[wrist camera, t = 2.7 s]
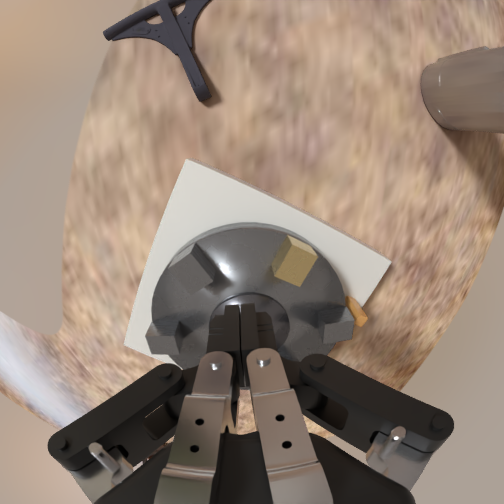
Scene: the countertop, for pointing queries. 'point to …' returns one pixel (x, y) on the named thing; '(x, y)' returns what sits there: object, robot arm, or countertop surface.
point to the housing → (246, 210)
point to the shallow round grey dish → (248, 292)
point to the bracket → (167, 34)
